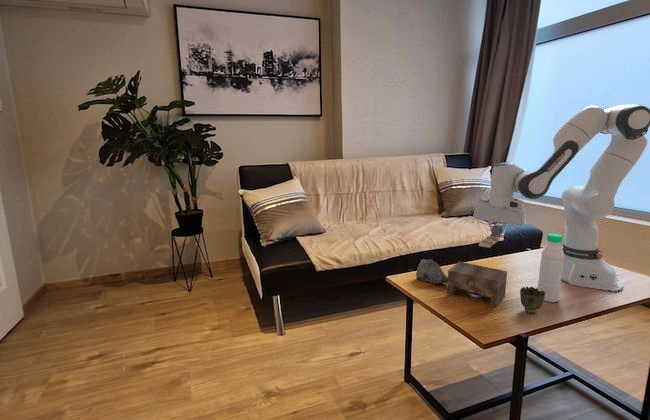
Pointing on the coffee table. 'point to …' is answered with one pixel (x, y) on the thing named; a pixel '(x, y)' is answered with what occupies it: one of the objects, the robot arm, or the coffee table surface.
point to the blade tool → (493, 236)
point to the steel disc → (475, 294)
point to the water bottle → (551, 268)
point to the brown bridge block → (478, 281)
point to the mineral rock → (431, 272)
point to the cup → (531, 299)
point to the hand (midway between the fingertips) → (497, 232)
